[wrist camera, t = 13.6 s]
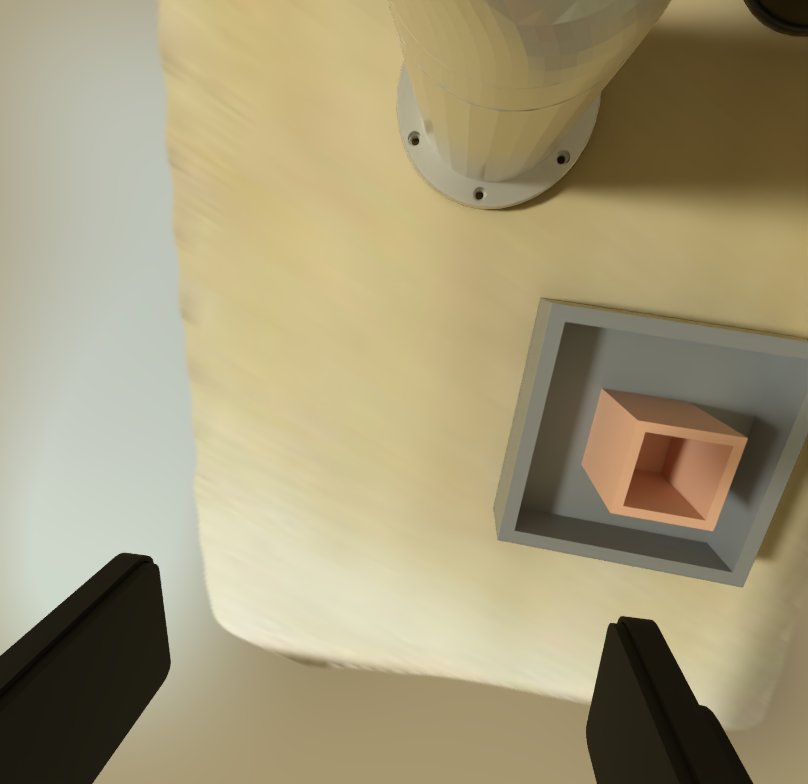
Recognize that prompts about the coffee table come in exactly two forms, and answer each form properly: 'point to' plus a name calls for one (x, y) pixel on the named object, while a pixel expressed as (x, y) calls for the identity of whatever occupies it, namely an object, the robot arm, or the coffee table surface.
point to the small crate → (661, 459)
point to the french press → (782, 15)
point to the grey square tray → (660, 377)
